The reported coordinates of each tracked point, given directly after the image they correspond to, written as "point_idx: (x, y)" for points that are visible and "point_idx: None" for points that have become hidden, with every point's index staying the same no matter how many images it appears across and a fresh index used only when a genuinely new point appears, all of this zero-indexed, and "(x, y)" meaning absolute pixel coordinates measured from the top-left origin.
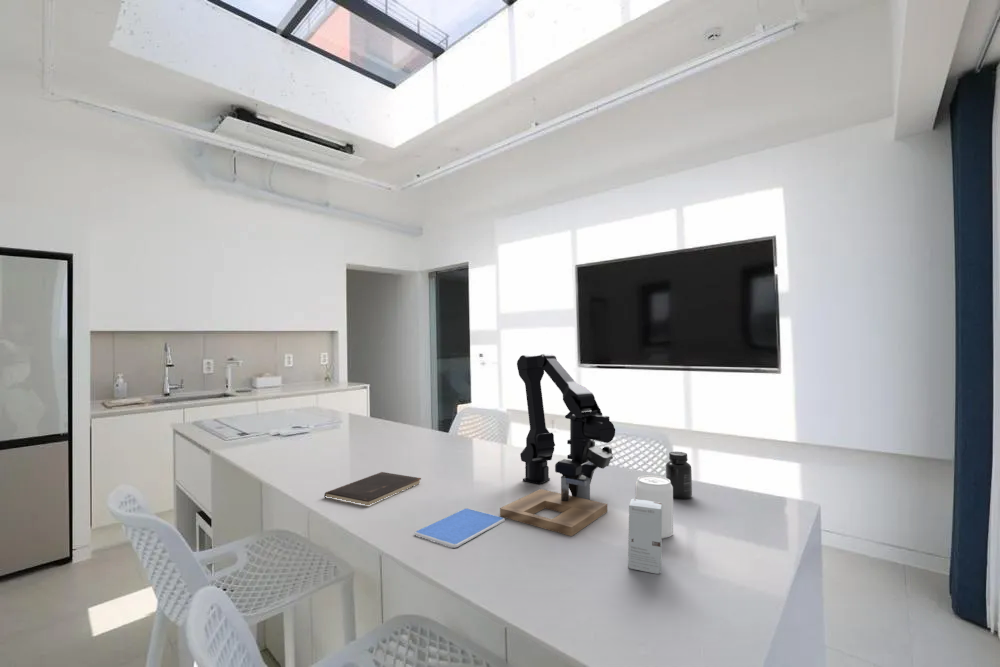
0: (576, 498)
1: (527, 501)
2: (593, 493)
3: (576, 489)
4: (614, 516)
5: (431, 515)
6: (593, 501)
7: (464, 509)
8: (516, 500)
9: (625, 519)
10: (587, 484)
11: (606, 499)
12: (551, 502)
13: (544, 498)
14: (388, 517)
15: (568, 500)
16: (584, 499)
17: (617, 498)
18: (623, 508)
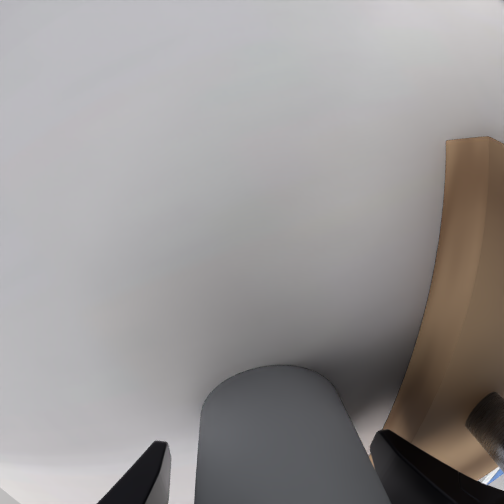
0: (455, 393)
1: (492, 459)
2: (95, 390)
3: (432, 457)
4: (474, 84)
5: (499, 480)
6: (488, 264)
7: (490, 482)
8: (482, 476)
9: (466, 27)
10: (345, 481)
11: (149, 254)
12: None
13: (464, 463)
14: (500, 488)
15: (492, 393)
16: (464, 345)
17: (66, 178)
18: (304, 36)
